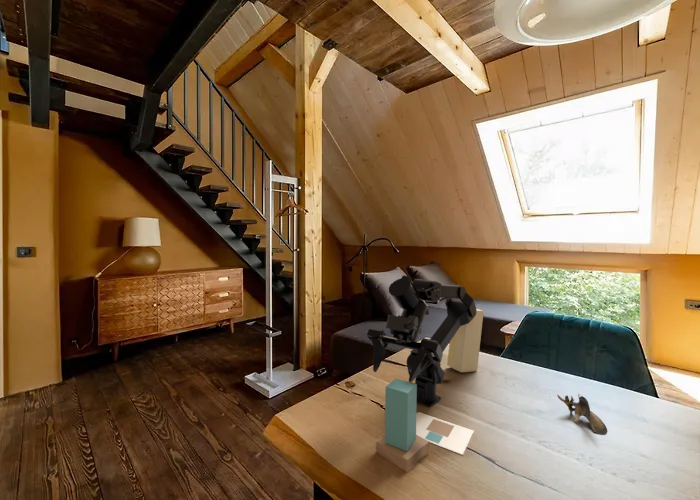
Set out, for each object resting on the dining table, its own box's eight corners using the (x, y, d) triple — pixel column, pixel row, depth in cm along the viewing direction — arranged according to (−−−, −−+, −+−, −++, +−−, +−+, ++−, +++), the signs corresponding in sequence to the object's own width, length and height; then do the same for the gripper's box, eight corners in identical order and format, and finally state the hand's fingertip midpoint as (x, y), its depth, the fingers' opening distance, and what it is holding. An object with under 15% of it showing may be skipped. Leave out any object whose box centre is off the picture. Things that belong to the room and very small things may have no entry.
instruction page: (418, 412, 84) (418, 411, 84) (474, 431, 76) (474, 430, 76) (402, 431, 76) (402, 431, 76) (462, 455, 68) (462, 454, 68)
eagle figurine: (550, 410, 83) (584, 424, 74) (561, 383, 85) (595, 394, 76) (574, 425, 84) (610, 441, 75) (584, 398, 86) (621, 410, 77)
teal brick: (394, 431, 72) (395, 378, 72) (416, 438, 69) (416, 384, 69) (384, 442, 68) (385, 386, 67) (407, 451, 65) (407, 393, 65)
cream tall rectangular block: (461, 363, 116) (467, 306, 116) (477, 371, 110) (484, 310, 110) (445, 364, 113) (451, 305, 113) (460, 372, 106) (467, 310, 106)
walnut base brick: (398, 437, 74) (398, 425, 74) (428, 455, 68) (429, 441, 68) (376, 454, 69) (376, 441, 68) (407, 474, 63) (407, 459, 63)
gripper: (369, 297, 83) (345, 351, 75) (440, 306, 73) (420, 371, 64) (383, 320, 90) (362, 372, 82) (449, 332, 80) (433, 393, 71)
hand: (391, 376), depth 75 cm, fingers open, 9 cm apart
